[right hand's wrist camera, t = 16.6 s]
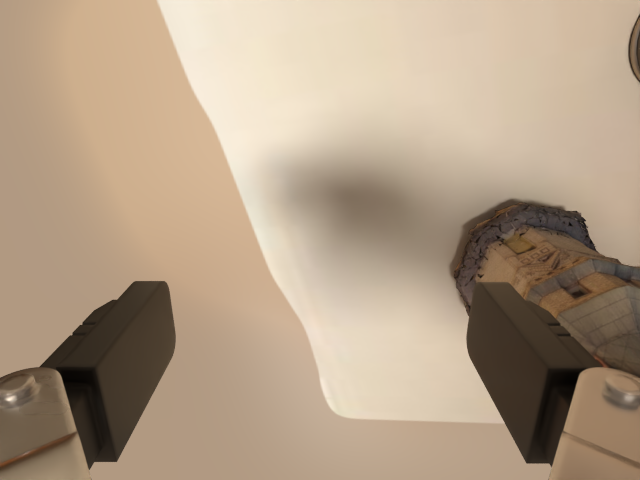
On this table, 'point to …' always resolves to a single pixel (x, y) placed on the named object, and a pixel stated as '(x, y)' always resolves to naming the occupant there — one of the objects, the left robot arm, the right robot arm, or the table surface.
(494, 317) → the right robot arm
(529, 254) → the miniature building
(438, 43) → the table surface
